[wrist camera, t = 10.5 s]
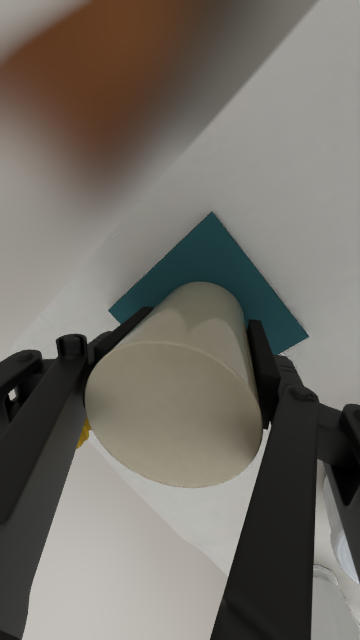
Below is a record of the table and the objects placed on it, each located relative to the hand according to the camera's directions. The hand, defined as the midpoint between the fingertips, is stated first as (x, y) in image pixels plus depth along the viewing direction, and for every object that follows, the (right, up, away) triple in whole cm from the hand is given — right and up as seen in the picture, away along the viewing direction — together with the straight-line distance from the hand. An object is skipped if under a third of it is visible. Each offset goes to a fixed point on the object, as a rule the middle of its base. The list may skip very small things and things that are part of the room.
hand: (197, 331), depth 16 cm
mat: (0, +1, +2) cm, 2 cm away
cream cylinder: (0, 0, +1) cm, 1 cm away
